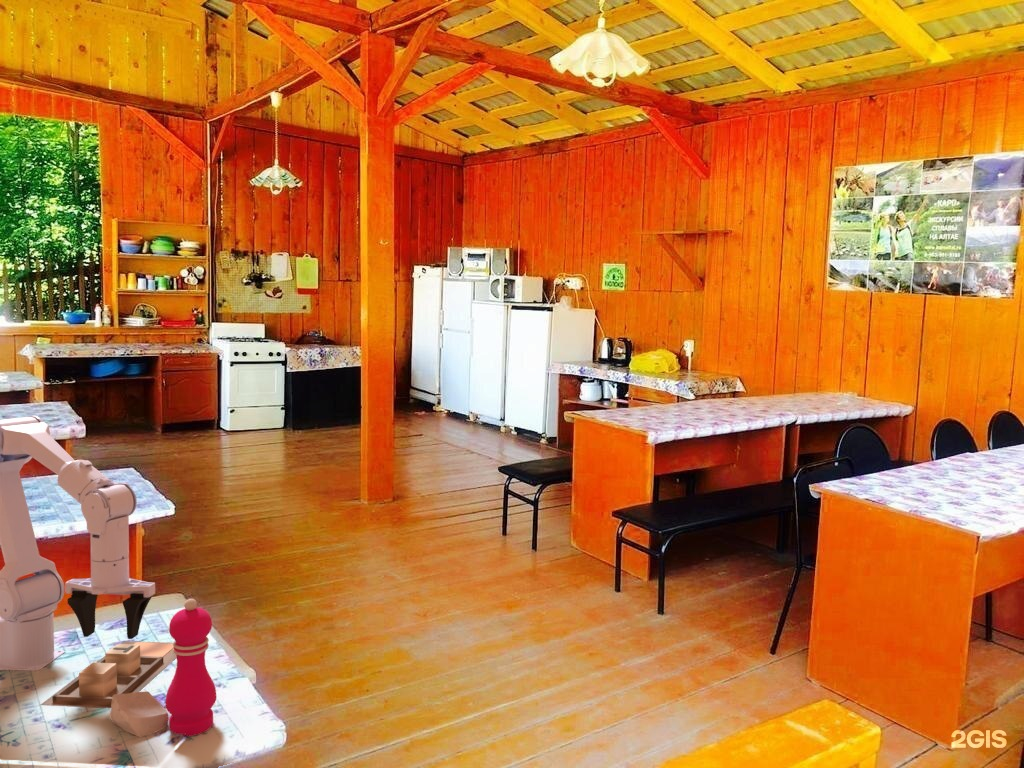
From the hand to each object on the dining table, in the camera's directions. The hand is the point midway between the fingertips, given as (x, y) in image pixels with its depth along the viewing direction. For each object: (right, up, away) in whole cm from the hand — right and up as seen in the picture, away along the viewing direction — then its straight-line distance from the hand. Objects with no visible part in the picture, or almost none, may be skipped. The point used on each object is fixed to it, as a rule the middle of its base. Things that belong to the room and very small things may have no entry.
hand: (110, 635), depth 131 cm
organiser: (0, -8, +4) cm, 9 cm away
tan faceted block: (+11, -10, -12) cm, 19 cm away
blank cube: (0, -8, -3) cm, 9 cm away
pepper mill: (+19, -10, -13) cm, 25 cm away
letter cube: (0, -8, +4) cm, 9 cm away
